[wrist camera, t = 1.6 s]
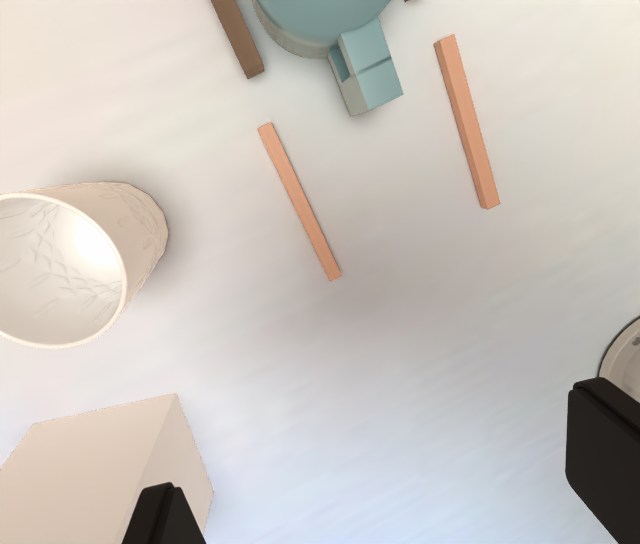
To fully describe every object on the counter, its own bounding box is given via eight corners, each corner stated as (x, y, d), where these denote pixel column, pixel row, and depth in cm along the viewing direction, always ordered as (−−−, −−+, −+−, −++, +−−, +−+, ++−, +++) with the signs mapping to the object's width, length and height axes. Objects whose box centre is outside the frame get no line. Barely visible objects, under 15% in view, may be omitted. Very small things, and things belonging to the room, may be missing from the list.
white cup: (44, 179, 26) (-87, 204, 17) (162, 166, 27) (99, 182, 17) (81, 287, 29) (-14, 360, 19) (188, 272, 29) (145, 337, 20)
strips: (447, 37, 26) (453, 33, 25) (493, 201, 30) (500, 203, 29) (258, 128, 26) (257, 128, 25) (328, 277, 30) (329, 281, 30)
